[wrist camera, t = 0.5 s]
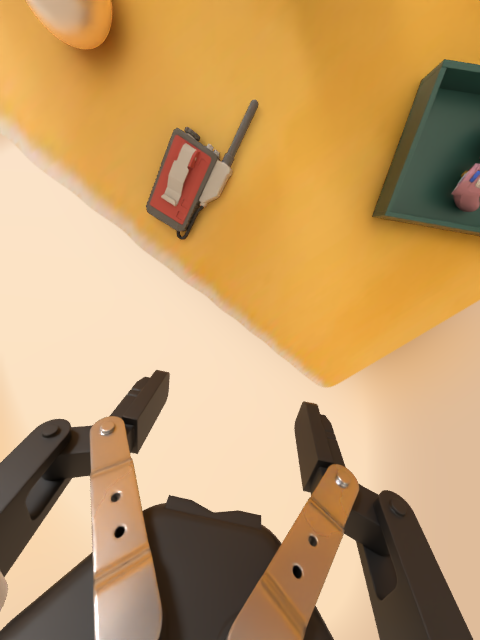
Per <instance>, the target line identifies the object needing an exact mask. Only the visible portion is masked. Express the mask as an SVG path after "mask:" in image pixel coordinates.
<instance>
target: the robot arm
mask: <svg viewBox="0 0 480 640" xmlns="http://www.w3.org/2000/svg"><path fill="white" fill-rule="evenodd" d="M168 391H169V372H164V371H159V370H156V371H155V372H154V373H153V375H152V376H151V377H150V378H149V377H144V378H142V379H141V380H139V381H137V382H136V384H135V385H134V386H133V387H132V390H130V391H129V393H128V394H127V395H126V396H125V397H124V399H123V400H122V401H121V403H120V404H119V405H118V406H117V408H116V409H115V410H114V411H113V413H112V414H111V415H110V416H109V417H105V418H103V419H101V420H99V421H97V422H96V423H95V424H94V425H92V426H85V427H71V425H70V423H69V422H68V421H67V420H64V419H55V420H51V421H47V422H45V423H43V424H41V425H40V426H38V427H37V428H36V429H35V430H33V432H31V433H30V434H29V435H28V436H27V438H25V439H24V440H23V441H22V442H21V443H20V444H19V445H18V446H17V447H16V448H15V449H14V450H13V451H12V452H11V453H10V454H9V455H8V456H7V457H6V458H5V459H4V460H3V461H2V462H1V463H0V610H1V608H2V607H3V605H4V602H5V600H6V596H7V591H8V586H7V582H6V580H5V578H4V577H5V575H6V574H7V573H8V571H9V570H10V568H11V567H12V565H13V564H14V562H15V561H16V559H17V558H18V556H19V555H20V554H21V552H22V550H23V549H24V548H25V546H26V545H27V543H28V542H29V540H30V539H31V537H32V536H33V535H34V533H35V532H36V530H37V529H38V527H39V526H40V524H41V523H42V521H43V519H44V518H45V517H46V515H47V514H48V513H49V511H50V510H51V508H52V507H53V505H54V504H55V502H56V501H57V499H58V498H59V496H60V495H61V494H62V492H63V491H64V489H65V488H66V486H67V485H68V483H69V482H70V480H71V479H72V478H74V477H81V476H90V485H91V486H90V487H91V516H92V545H93V546H92V548H93V552H92V553H91V554H90V555H89V556H87V557H86V558H85V559H84V560H83V561H81V562H80V563H79V564H78V565H77V566H76V567H74V568H73V569H72V570H71V571H70V572H68V573H67V574H66V575H65V576H64V577H62V578H61V579H60V580H59V581H58V582H57V583H55V584H54V585H53V586H52V587H50V588H49V589H48V590H47V591H46V592H44V593H43V594H42V595H41V596H40V597H39V598H37V599H36V600H35V601H34V602H33V603H31V604H30V605H29V606H28V607H27V608H25V609H24V610H23V611H22V612H21V613H19V615H17V616H16V617H15V618H14V619H12V620H11V621H10V622H9V623H8V624H7V625H6V626H5V627H4V628H3V629H2V630H1V631H0V640H334V639H333V637H332V635H331V633H330V632H329V630H328V628H327V626H326V624H325V622H324V621H323V619H322V617H321V615H320V613H319V611H318V610H317V608H316V606H315V604H316V602H317V599H318V597H319V594H320V592H321V589H322V587H323V584H324V582H325V579H326V577H327V574H328V572H329V569H330V567H331V564H332V562H333V559H334V557H335V554H336V552H337V549H338V547H339V544H340V542H341V539H342V537H343V534H346V535H347V536H349V537H351V538H353V539H354V540H356V543H357V547H358V551H359V555H360V559H361V563H362V567H363V572H364V576H365V579H366V584H367V588H368V592H369V596H370V600H371V605H372V608H373V613H374V616H375V621H376V625H377V629H378V633H379V638H380V640H473V638H472V636H471V634H470V632H469V629H468V627H467V625H466V623H465V621H464V619H463V617H462V614H461V612H460V610H459V608H458V606H457V604H456V602H455V600H454V597H453V595H452V593H451V591H450V589H449V587H448V585H447V583H446V580H445V578H444V576H443V574H442V572H441V570H440V568H439V565H438V563H437V561H436V559H435V557H434V555H433V552H432V550H431V548H430V546H429V544H428V542H427V540H426V537H425V535H424V533H423V531H422V529H421V527H420V525H419V523H418V520H417V518H416V516H415V514H414V512H413V510H412V509H411V507H410V506H409V504H408V503H407V502H406V501H405V500H404V499H403V498H402V497H400V496H399V495H397V494H396V493H394V492H392V491H388V490H384V491H382V492H381V493H380V494H379V495H378V494H376V493H374V492H372V491H370V490H369V489H367V488H365V487H363V486H361V485H360V484H358V481H357V479H356V478H355V476H354V475H353V474H352V473H351V472H350V471H349V470H348V469H347V468H346V467H345V464H344V461H343V458H342V456H341V452H340V449H339V446H338V443H337V441H336V437H335V434H334V431H333V428H332V425H331V423H330V421H329V420H328V419H327V417H326V416H325V415H321V414H320V412H319V409H318V406H317V404H314V403H309V402H303V403H302V405H301V408H300V411H299V413H298V416H297V418H296V421H295V437H296V444H297V451H298V458H299V465H300V472H301V479H302V486H303V491H307V492H311V497H310V498H309V499H308V501H307V503H306V504H305V506H304V508H303V509H302V511H301V513H300V514H299V516H298V518H297V519H296V521H295V523H294V524H293V526H292V528H291V529H290V531H289V532H288V534H287V536H286V537H285V539H284V541H283V543H282V544H281V542H280V541H279V540H278V539H277V537H276V536H275V535H274V534H273V533H272V532H271V531H270V530H269V529H267V528H266V527H265V526H263V525H261V515H256V514H251V513H247V512H243V511H228V512H217V513H214V512H211V511H209V510H208V509H206V508H204V507H202V506H201V505H199V504H197V503H195V502H194V501H192V500H188V499H183V498H179V497H175V496H170V495H169V497H168V500H167V503H164V504H159V505H155V506H152V507H150V508H148V509H146V510H144V511H142V506H141V501H140V496H139V491H138V485H137V480H136V475H135V469H134V464H133V460H132V458H131V456H130V453H136V454H138V452H139V450H140V448H141V446H142V445H143V443H144V441H145V439H146V437H147V436H148V434H149V432H150V430H151V428H152V426H153V425H154V423H155V421H156V419H157V417H158V416H159V414H160V412H161V410H162V408H163V406H164V404H165V402H166V400H167V397H168Z"/></svg>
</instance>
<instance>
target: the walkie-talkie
mask: <svg viewBox="0 0 480 640" xmlns="http://www.w3.org/2000/svg"><path fill="white" fill-rule="evenodd" d="M257 108H258V102H257V100H252V101H251V103H250V105H249V107H248V109H247V112H246V114H245V116H244V118H243V120H242V122H241V124H240V127H239V129H238V131H237V133H236V135H235V137H234V140H233V142H232V144H231V146H230V148H229V150H228V152H227V153H226V154H225V156H224V158H223V160H222V162H221V161H220V159H219V154H220V153H219V152H218V151H217V150H214V152H213V151H212V150H213V148H214V147H213V146H212V145H210V144H208V145H207V146H206V147H205V146H204V145H202V144H201V143H199V142H198V141H199V140H200V136H199V135H198V134H197V133H195V132H194V131H193V130H192V129H190V128H188V127H185V132H186V133H185V132H183V131H182V130H180V129H179V128H176V129H174V130H173V133H172V136H171V139H170V141H169V144H168V147H167V150H166V152H165V155H164V158H163V160H162V163H161V167H160V170H159V171H158V175H157V178H156V181H155V183H154V187H153V189H152V190H151V194H150V197H149V200H148V202H147V205H146V208H147V212H148V213H149V214H151V215H152V216H154V217H156V218H157V219H159V220H161V221H162V222H164V223H165V224H167V225H169V226H170V227H172V228H173V229H175V230H177V237H178V238H179V239H185V238H186V237H187V236H188V234H189V232H190V230H191V227H192V225H193V223H194V221H195V219H196V217H197V215H198V213H199V211H201V210H202V209H203V208H204V207H206V205H207V203H208V202H211V201H213V200H215V199H217V198H219V197H220V195H221V193H222V191H223V189H224V186H225V184H226V182H227V180H228V178H229V177H230V176H231V175H232V172H233V171H232V169H231V168H230V167H231V165H232V163H233V161H234V156H235V154H236V152H237V150H238V148H239V146H240V144H241V141H242V139H243V137H244V135H245V133H246V131H247V129H248V127H249V125H250V123H251V120H252V118H253V116H254V114H255V112H256V110H257ZM200 205H201V206H200ZM186 230H187V231H186ZM180 231H186V233H185V235H184V236H183V237H182V236H181V235H180Z"/></svg>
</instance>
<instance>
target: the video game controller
mask: <svg viewBox="0 0 480 640" xmlns="http://www.w3.org/2000/svg"><path fill="white" fill-rule="evenodd" d="M479 159H480V157H479ZM461 177H462V178H461V179H460V181H459V182H458V183H457V186H456V188H455V189H454V191H453V192H452V195H453V197H454V202H455V204H456V206H457V207H458V208H459V209H460V210H462V211H465V212H473V211H476V210H477V209H478V208H479V204H480V203H479V197H480V164H475V165H473V166H472V167H471V168H470V170H469V171H464V172H463V173H462V175H461Z"/></svg>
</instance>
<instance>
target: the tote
mask: <svg viewBox="0 0 480 640" xmlns="http://www.w3.org/2000/svg"><path fill="white" fill-rule="evenodd" d="M479 157H480V65H477V64H470V63H464V62H458V61H452V60H446V59H444V60H443V61H442V62H441V63H440V64H439V65H438V66H437V67H436V68H434V69H433V70H432V71H431V72H430V73H429V74H428V75H427V76H426V77H425V78H424V79H422V81H421V83H420V86H419V89H418V92H417V94H416V97H415V100H414V103H413V105H412V108H411V111H410V114H409V116H408V119H407V122H406V125H405V127H404V130H403V133H402V136H401V138H400V141H399V144H398V147H397V149H396V152H395V155H394V158H393V160H392V163H391V166H390V169H389V171H388V174H387V177H386V180H385V183H384V185H383V188H382V191H381V194H380V196H379V199H378V202H377V205H376V207H375V210H374V213H373V216H372V217H377V218H383V219H388V220H394V221H399V222H405V223H410V224H416V225H422V226H427V227H433V228H438V229H444V230H449V231H455V232H460V233H466V234H472V235H477V236H480V204H479V208H478V209H477V210H476V211H473V212H465V211H462V210H460V209H459V208H458V207H457V206H456V204H455V202H454V197H453V195H452V192H453V191H454V189H455V188H456V186H457V183H458V182H459V181H460V179H461V178H462V177H461V175H462V173H463V172H464V171H469V170H470V168H471V167H472V166H473V165H475V164H480V159H479ZM479 203H480V197H479Z"/></svg>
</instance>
